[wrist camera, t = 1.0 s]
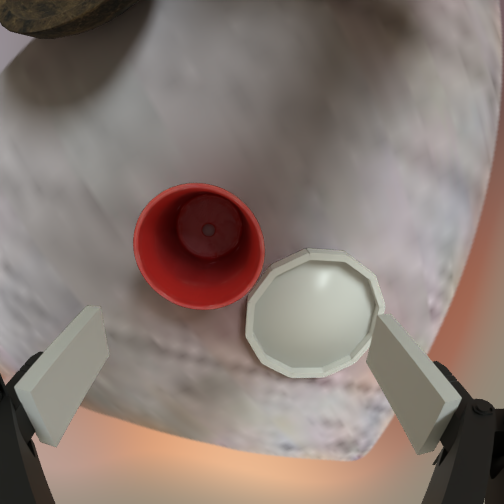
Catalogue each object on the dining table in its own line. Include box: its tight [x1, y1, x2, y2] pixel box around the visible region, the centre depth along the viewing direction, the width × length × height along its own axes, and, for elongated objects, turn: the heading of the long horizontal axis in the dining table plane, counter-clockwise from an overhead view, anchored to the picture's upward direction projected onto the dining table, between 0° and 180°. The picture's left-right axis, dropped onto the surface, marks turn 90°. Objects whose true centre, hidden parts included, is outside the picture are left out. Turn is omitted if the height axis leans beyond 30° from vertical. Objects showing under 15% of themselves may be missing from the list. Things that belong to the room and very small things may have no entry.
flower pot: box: [133, 183, 265, 310], centre depth 30 cm, size 11×11×10 cm
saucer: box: [245, 248, 385, 378], centre depth 37 cm, size 17×17×2 cm
